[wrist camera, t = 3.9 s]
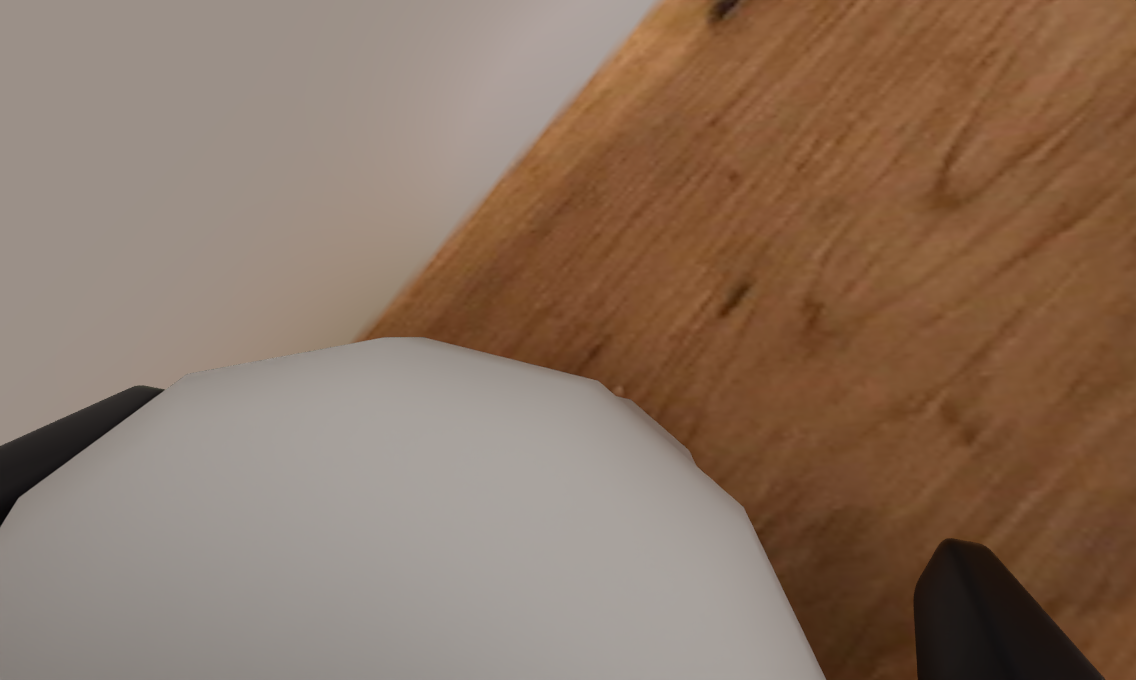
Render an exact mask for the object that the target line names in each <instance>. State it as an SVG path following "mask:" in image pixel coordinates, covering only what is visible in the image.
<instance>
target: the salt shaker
mask: <svg viewBox="0 0 1136 680" xmlns="http://www.w3.org/2000/svg"><path fill="white" fill-rule="evenodd" d="M0 680H826V678H825V676H824V674H823V672H822V670H821V668H820V666H819V664H818V662H817V660H816V657H815V655H814V653H813V651H812V649H811V647H810V645H809V643H808V641H807V639H806V637H805V635H804V632H803V630H802V628H801V626H800V624H799V622H798V620H797V618H796V616H795V614H794V612H793V609H792V607H791V605H790V603H789V601H788V599H787V597H786V595H785V593H784V591H783V589H782V587H781V584H780V582H779V580H778V578H777V576H776V574H775V572H774V570H773V568H772V566H771V564H770V562H769V559H768V557H767V555H766V553H765V551H764V549H763V547H762V545H761V543H760V541H759V539H758V537H757V534H756V532H755V530H754V528H753V526H752V524H751V522H750V520H749V518H748V516H747V514H746V511H745V509H744V507H743V506H742V505H740V504H739V503H738V502H737V501H736V500H735V499H734V498H732V497H731V496H730V495H729V494H728V493H727V492H725V491H724V490H723V489H722V488H721V487H720V486H719V485H717V484H716V483H715V482H714V481H713V480H712V479H711V478H709V477H708V476H707V475H706V474H705V473H704V472H702V471H701V470H700V469H699V468H698V467H697V466H696V464H695V462H694V460H693V458H692V456H691V454H690V452H689V450H688V449H687V448H686V447H685V446H683V445H682V444H681V443H680V442H679V441H678V440H676V439H675V438H674V437H673V436H672V435H671V434H670V433H668V432H667V431H666V430H665V429H664V428H663V427H662V426H660V425H659V424H658V423H657V422H656V421H655V420H653V419H652V418H651V417H650V416H649V415H648V414H647V413H645V412H644V411H643V410H642V409H641V408H640V407H639V406H637V405H636V404H635V403H634V402H633V401H632V400H630V399H625V398H621V397H617V396H615V395H614V394H613V393H612V392H610V391H609V390H608V389H607V388H606V387H605V386H604V385H602V384H601V383H600V382H599V381H597V380H593V379H589V378H585V377H581V376H577V375H573V374H569V373H565V372H561V371H557V370H553V369H549V368H545V367H540V366H536V365H532V364H528V363H524V362H520V361H516V360H512V359H508V358H504V357H500V356H496V355H492V354H488V353H484V352H480V351H476V350H472V349H468V348H464V347H460V346H456V345H452V344H448V343H444V342H440V341H436V340H432V339H428V338H424V337H393V338H379V339H374V340H368V341H363V342H357V343H352V344H347V345H341V346H336V347H330V348H325V349H320V350H314V351H309V352H303V353H298V354H293V355H287V356H282V357H276V358H271V359H266V360H260V361H255V362H250V363H244V364H238V365H233V366H228V367H222V368H217V369H212V370H206V371H201V372H196V373H190V374H186V375H185V376H184V377H182V378H181V379H179V380H178V381H177V382H176V383H174V384H173V385H171V386H170V387H169V388H167V389H166V390H164V391H163V392H162V393H160V394H159V395H158V396H156V397H155V398H154V399H152V400H151V401H150V402H148V403H147V404H145V405H144V406H143V407H141V408H140V409H139V410H137V411H136V412H135V413H133V414H132V415H131V416H129V417H128V418H126V419H125V420H124V421H122V422H121V423H120V424H118V425H117V426H116V427H114V428H113V429H111V430H110V431H109V432H107V433H106V434H105V435H103V436H102V437H101V438H99V439H98V440H97V441H95V442H94V443H92V444H91V445H90V446H88V447H87V448H86V449H84V450H83V451H82V452H80V453H79V454H78V455H76V456H75V457H73V458H72V459H71V460H69V461H68V462H67V463H65V464H64V465H63V466H61V467H60V468H58V469H57V470H56V471H54V472H53V473H52V474H50V475H49V476H48V477H46V478H45V479H44V480H42V481H41V482H39V483H38V484H37V485H35V486H34V487H33V488H31V489H30V490H29V491H27V492H26V493H25V494H23V495H22V496H20V497H19V498H18V500H17V501H16V503H15V504H14V506H13V508H12V509H11V511H10V512H9V514H8V516H7V517H6V519H5V520H4V522H3V524H2V525H1V527H0Z"/></svg>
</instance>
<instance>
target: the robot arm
mask: <svg viewBox="0 0 1136 680" xmlns="http://www.w3.org/2000/svg"><path fill="white" fill-rule="evenodd" d="M163 391H164V389H158V388H153V387H148V386H134V387H132V388H129V389H127V390H125V391H122V392H120V393H118V394H116V395H113V396H111V397H109V398H107V399H104V400H102V401H100V402H98V403H95V404H93V405H91V406H89V407H87V408H84V409H82V410H80V411H78V412H75V413H73V414H71V415H69V416H66V417H64V418H62V419H60V420H57V421H55V422H53V423H51V424H49V425H46V426H44V427H42V428H40V429H37V430H36V431H33V432H31V433H28V434H26V435H24V436H22V437H20V438H17V439H15V440H13V441H11V442H8V443H6V444H4V445H2V446H0V527H1V525H2V524H3V522H4V520H5V519H6V517H7V516H8V514H9V512H10V511H11V509H12V508H13V506H14V504H15V503H16V501H17V500H18V498H19V497H20V496H22V495H23V494H25V493H26V492H27V491H29V490H30V489H31V488H33V487H34V486H35V485H37V484H38V483H39V482H41V481H42V480H44V479H45V478H46V477H48V476H49V475H50V474H52V473H53V472H54V471H56V470H57V469H58V468H60V467H61V466H63V465H64V464H65V463H67V462H68V461H69V460H71V459H72V458H73V457H75V456H76V455H78V454H79V453H80V452H82V451H83V450H84V449H86V448H87V447H88V446H90V445H91V444H92V443H94V442H95V441H97V440H98V439H99V438H101V437H102V436H103V435H105V434H106V433H107V432H109V431H110V430H111V429H113V428H114V427H116V426H117V425H118V424H120V423H121V422H122V421H124V420H125V419H126V418H128V417H129V416H131V415H132V414H133V413H135V412H136V411H137V410H139V409H140V408H141V407H143V406H144V405H145V404H147V403H148V402H150V401H151V400H152V399H154V398H155V397H156V396H158V395H159V394H160V393H162V392H163ZM914 621H915V638H916V656H917V673H918V680H1105V679H1104V677H1103V676H1102V675H1101V674H1100V673H1099V672H1098V671H1097V669H1096V668H1095V667H1094V666H1093V665H1092V664H1091V663H1090V662H1089V660H1088V659H1087V658H1086V657H1085V656H1084V655H1083V654H1082V653H1081V651H1080V650H1079V649H1078V648H1077V647H1076V646H1075V645H1074V644H1073V642H1072V641H1071V640H1070V639H1069V638H1068V637H1067V636H1066V634H1065V633H1064V632H1063V631H1062V630H1061V629H1060V628H1059V627H1058V625H1057V624H1056V623H1055V622H1054V621H1053V620H1052V619H1051V618H1050V616H1049V615H1048V614H1047V613H1046V612H1045V611H1044V610H1043V609H1042V607H1041V606H1040V605H1039V604H1038V603H1037V602H1036V601H1035V599H1034V598H1033V597H1032V596H1031V595H1030V594H1029V593H1028V592H1027V590H1026V589H1025V588H1024V587H1023V586H1022V585H1021V584H1020V583H1019V581H1018V580H1017V579H1016V578H1015V577H1014V576H1013V575H1012V574H1011V572H1010V571H1009V570H1008V569H1007V568H1006V567H1005V566H1004V564H1003V563H1002V562H1001V561H1000V560H999V559H998V558H997V557H996V555H995V554H994V553H993V552H992V551H991V550H990V549H989V548H987V547H986V546H984V545H982V544H979V543H974V542H968V541H963V540H958V539H952V538H949V539H945V540H943V541H942V542H941V543H940V544H939V546H938V547H937V549H936V550H935V552H934V554H933V556H932V557H931V559H930V561H929V563H928V564H927V566H926V568H925V569H924V571H923V573H922V575H921V576H920V578H919V580H918V582H917V584H916V587H915V592H914Z"/></svg>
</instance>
